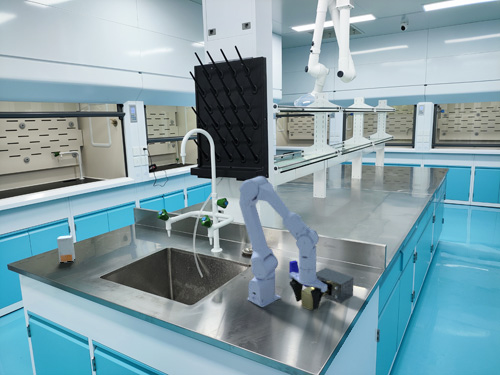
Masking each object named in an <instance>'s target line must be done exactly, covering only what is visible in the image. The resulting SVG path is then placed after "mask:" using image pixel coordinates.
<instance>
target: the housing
mask: <svg viewBox="0 0 500 375" xmlns="http://www.w3.org/2000/svg"><path fill="white" fill-rule="evenodd" d="M316 276H317V279H318V280H320V281H321V282H322V283H324V284H326V285H327V288H328V294H326V295H325V296H323V297H325V298H326V299H330V300H332V301H335V302H336V303H339V304H342V303H343V302H345V301H347V300H348V299H350V298H351V297H353V296H354V280H355V279H354V278H355V277H353V276H352V275H348V274H345V273H343V272H339V271H336V270H333V269H330V268H329V267H328V268H327V267H324V268H322V269H320V270H318V271H316Z"/></svg>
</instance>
